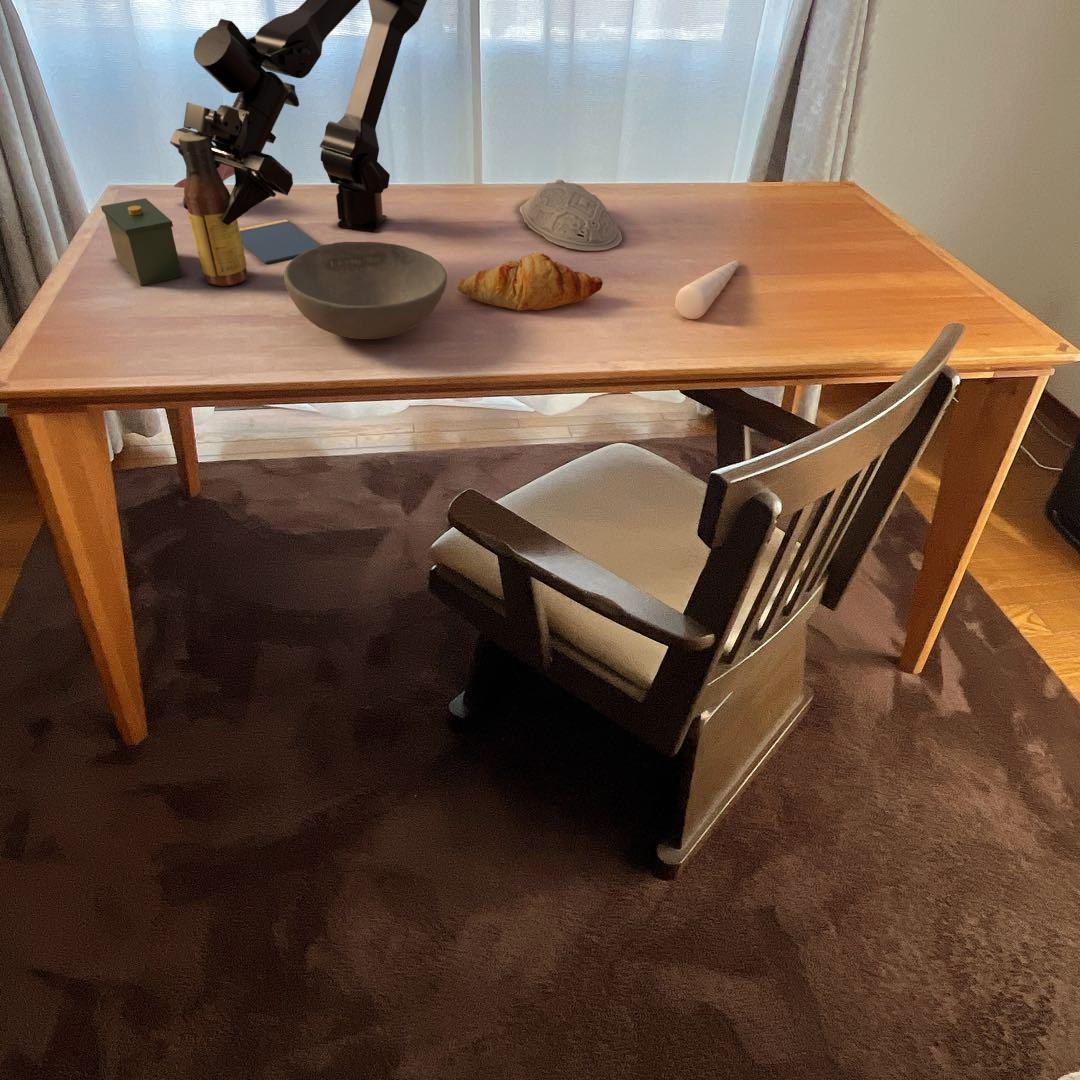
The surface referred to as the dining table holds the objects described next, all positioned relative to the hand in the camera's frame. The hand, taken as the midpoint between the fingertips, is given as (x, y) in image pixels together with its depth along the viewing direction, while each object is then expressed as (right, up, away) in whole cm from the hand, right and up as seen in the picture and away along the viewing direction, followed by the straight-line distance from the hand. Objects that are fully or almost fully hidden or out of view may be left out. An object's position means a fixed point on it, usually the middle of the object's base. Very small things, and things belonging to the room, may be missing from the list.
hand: (205, 216), depth 121 cm
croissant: (+45, -9, +8) cm, 46 cm away
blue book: (+4, +3, +18) cm, 19 cm away
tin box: (-11, -5, +8) cm, 15 cm away
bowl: (+23, -15, -1) cm, 28 cm away
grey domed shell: (+51, +10, +31) cm, 61 cm away
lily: (-9, +12, +28) cm, 32 cm away
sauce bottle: (0, -7, +7) cm, 10 cm away
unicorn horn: (+72, -7, +13) cm, 74 cm away
